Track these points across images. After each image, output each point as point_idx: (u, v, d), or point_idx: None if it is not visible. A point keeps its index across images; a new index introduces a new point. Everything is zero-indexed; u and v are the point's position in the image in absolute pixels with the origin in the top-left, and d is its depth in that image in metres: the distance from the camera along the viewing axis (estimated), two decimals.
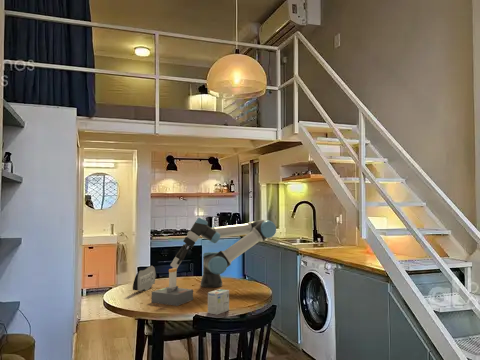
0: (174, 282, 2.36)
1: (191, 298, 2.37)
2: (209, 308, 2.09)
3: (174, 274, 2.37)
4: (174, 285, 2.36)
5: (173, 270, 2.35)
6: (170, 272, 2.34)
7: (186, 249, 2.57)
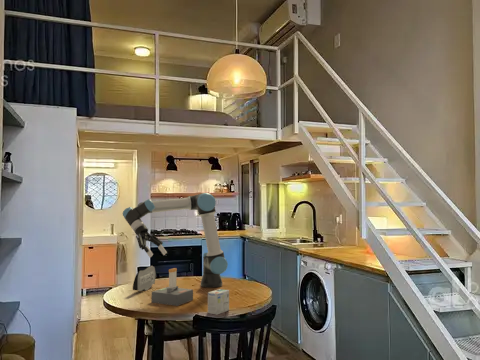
0: (174, 282, 2.36)
1: (191, 298, 2.37)
2: (209, 308, 2.09)
3: (174, 274, 2.37)
4: (174, 285, 2.36)
5: (173, 270, 2.35)
6: (170, 272, 2.34)
7: (138, 238, 2.41)
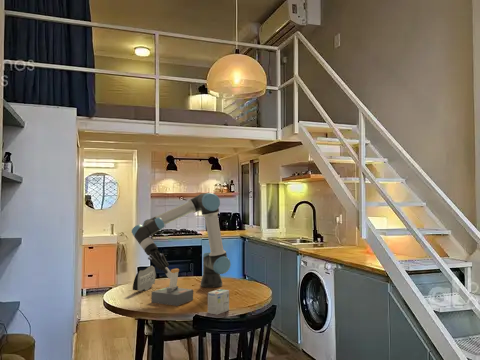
0: (175, 282, 2.36)
1: (191, 298, 2.37)
2: (209, 308, 2.09)
3: (176, 274, 2.36)
4: (174, 285, 2.36)
5: (175, 271, 2.35)
6: (172, 272, 2.34)
7: (152, 259, 2.37)
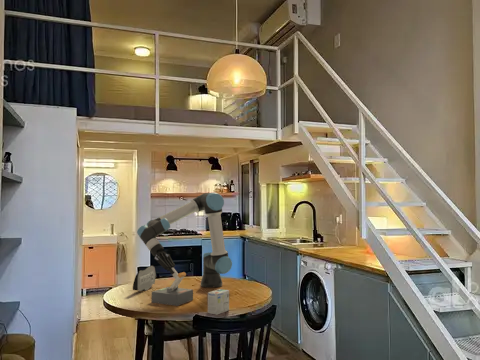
0: (177, 284, 2.35)
1: (191, 298, 2.37)
2: (209, 308, 2.09)
3: (181, 278, 2.34)
4: (175, 287, 2.36)
5: (182, 276, 2.33)
6: (178, 276, 2.31)
7: (158, 260, 2.35)
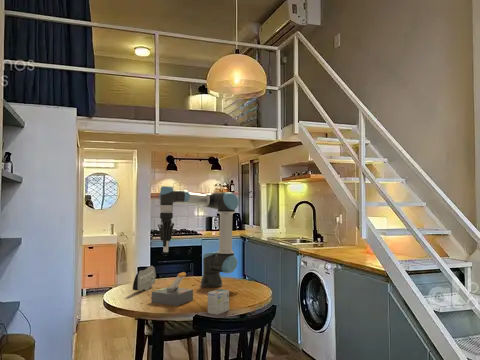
0: (177, 284, 2.35)
1: (191, 298, 2.37)
2: (209, 308, 2.09)
3: (181, 278, 2.34)
4: (175, 287, 2.36)
5: (182, 276, 2.33)
6: (178, 276, 2.31)
7: (160, 228, 2.36)
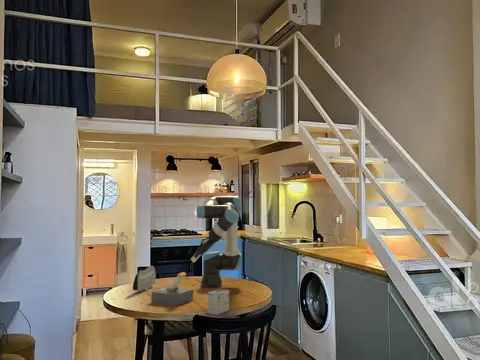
0: (177, 284, 2.35)
1: (191, 298, 2.37)
2: (209, 308, 2.09)
3: (181, 278, 2.34)
4: (175, 287, 2.36)
5: (182, 276, 2.33)
6: (178, 276, 2.31)
7: (202, 244, 2.22)
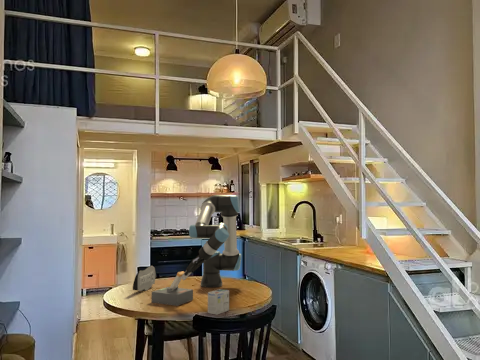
0: (176, 284, 2.36)
1: (191, 298, 2.37)
2: (209, 308, 2.09)
3: (180, 278, 2.35)
4: (175, 286, 2.36)
5: (181, 275, 2.33)
6: (178, 276, 2.32)
7: (192, 263, 2.25)
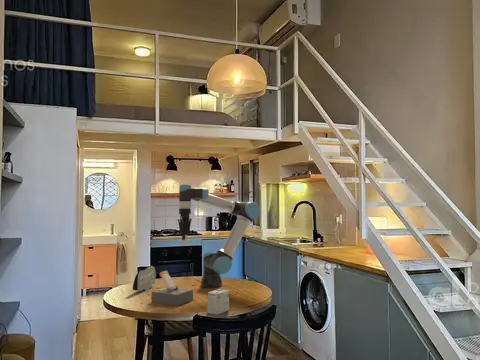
0: (171, 282, 2.37)
1: (191, 298, 2.37)
2: (209, 308, 2.09)
3: (167, 275, 2.39)
4: (172, 285, 2.37)
5: (164, 272, 2.38)
6: (162, 275, 2.37)
7: (180, 223, 2.56)
